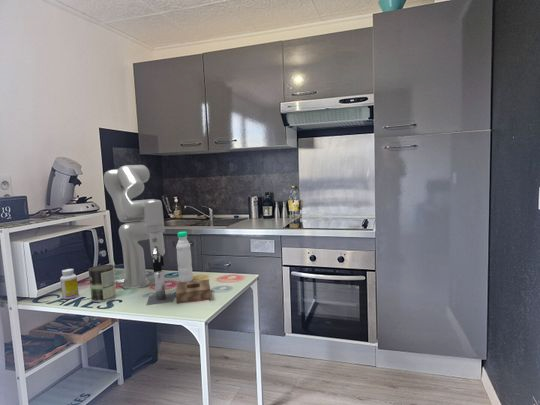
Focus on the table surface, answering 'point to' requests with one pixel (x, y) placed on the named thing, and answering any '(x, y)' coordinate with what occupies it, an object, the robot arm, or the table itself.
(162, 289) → the steel peg
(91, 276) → the coffee can
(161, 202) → the robot arm
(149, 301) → the rubber mat
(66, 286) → the supplement bottle
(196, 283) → the brown peg hole board
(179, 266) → the water bottle
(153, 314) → the table surface
